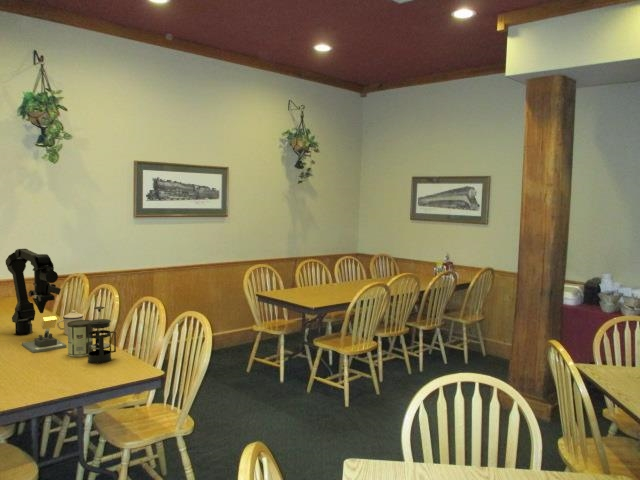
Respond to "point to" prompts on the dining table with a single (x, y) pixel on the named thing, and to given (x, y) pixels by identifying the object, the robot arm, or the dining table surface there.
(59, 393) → the dining table surface
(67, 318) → the teacup with lid
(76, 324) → the coffee can
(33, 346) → the switch board
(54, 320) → the lever
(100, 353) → the french press
